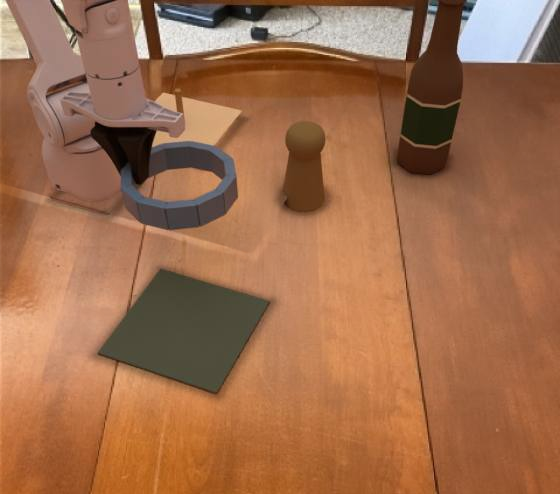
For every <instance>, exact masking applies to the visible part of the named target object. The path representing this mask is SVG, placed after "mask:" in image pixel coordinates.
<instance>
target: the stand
mask: <svg viewBox="0 0 560 494" xmlns="http://www.w3.org/2000/svg"><path fill="white" fill-rule="evenodd" d="M173 92H174V94H171V93H167V92H162V93H161V94H160V95H159V96H158V97H157V98H156V99H155V100H154V102H156V103H158V104H160V105H162V106H164V107H166V108H168V109H170V110H173V111H176V112H180V113H183V114H184V121H185V130H184V132H183V133H182V134H181V135H180V136H179V137H178V138H174V137H170V136H169V133H167V132H162V131H157V132H156V135H155V138H154V141H153V144H152V147H154V146H157V145H159V144H161V145H162V143H172V142H182V141H194V142H199V143H204V144H208V145H213V146H216V144H217V143H218V142H219V140H220V139H221V138H222V137H223V135H224V134H225V133H226V132H227V130H228V129H229V128H230V127H231V125H232V124H233V123H234V122H235V120H237V118H238V117H239V115H240V114H241V113H242V112H243V110H241V109H237V108H233V107H230V106H229V107H228V106H224V105H220V104H215V103H210V102H207V101H204V100H203V101H202V100H198V99H193V98H190V97H185V96H183V93H182V89H181V88H180V87H179V88H174V91H173Z"/></svg>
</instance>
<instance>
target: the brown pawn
mask: <svg viewBox="0 0 560 494" xmlns="http://www.w3.org/2000/svg"><path fill="white" fill-rule="evenodd" d="M284 138H285V147H286V149H287V151H288V156H287V163H286V169H285V175H284V181H283V186H282V187H283V189H282V192H283V194H284V195H285V196H286V197H287V198H285V201H284V202H283V205H284V206H285V207H286V208H288V209H290V210H292V211H296V212H300V213H301V212H303V213H307V212H312V211H315V210H317V209H319V208H320V207H322V206H323V205H324V202H325V187H324V186H325V185H324V176H323V164H322V154H321V153H322V151H323V150H324V147H325V146H326V133H325V131H324V129H323V128H322V126H321V125H320V124H318V123H316V122H314V121H309V120H301V121H297V122H294V123H293V124H291V125H290V126H289V127H288V129H287V130H286V132H285V137H284Z"/></svg>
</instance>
